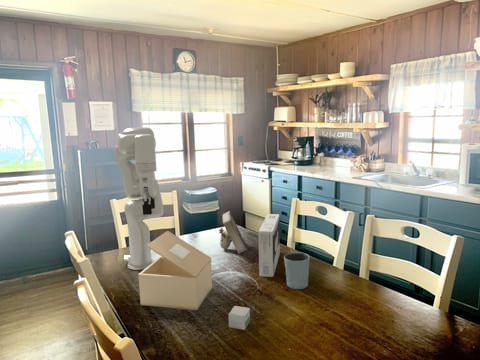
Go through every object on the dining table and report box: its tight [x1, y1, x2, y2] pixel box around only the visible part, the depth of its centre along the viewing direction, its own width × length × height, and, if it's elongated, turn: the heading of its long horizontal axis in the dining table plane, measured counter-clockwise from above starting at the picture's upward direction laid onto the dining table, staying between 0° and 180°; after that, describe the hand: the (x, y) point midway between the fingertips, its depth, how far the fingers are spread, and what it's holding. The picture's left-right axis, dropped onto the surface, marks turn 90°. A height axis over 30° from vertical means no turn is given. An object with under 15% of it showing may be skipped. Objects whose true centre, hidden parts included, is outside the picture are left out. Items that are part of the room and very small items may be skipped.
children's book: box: [218, 210, 248, 255], centre depth 192 cm, size 20×12×20 cm, turn 6°
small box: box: [228, 305, 251, 331], centre depth 121 cm, size 6×6×5 cm
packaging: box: [257, 213, 281, 278], centre depth 171 cm, size 30×6×20 cm, turn 168°
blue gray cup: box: [283, 251, 311, 290], centre depth 148 cm, size 10×10×12 cm
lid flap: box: [146, 230, 212, 277], centre depth 139 cm, size 21×18×1 cm
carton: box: [137, 256, 213, 311], centre depth 141 cm, size 22×18×12 cm
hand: (149, 211), depth 142 cm, fingers open, 9 cm apart
